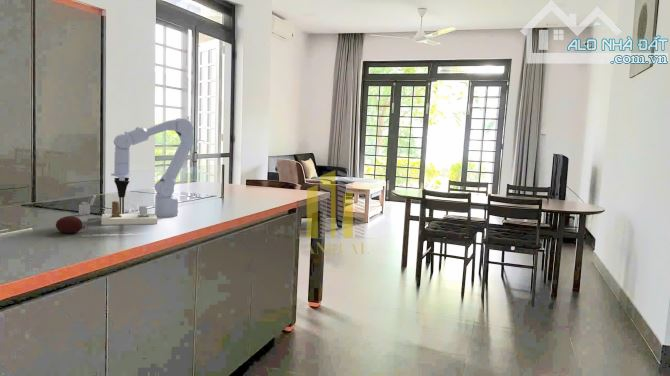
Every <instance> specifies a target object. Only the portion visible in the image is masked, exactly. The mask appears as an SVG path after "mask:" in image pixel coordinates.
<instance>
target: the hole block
mask: <svg viewBox="0 0 670 376" xmlns="http://www.w3.org/2000/svg"><path fill="white" fill-rule="evenodd" d="M139 215H140V213H120V217H112V213H105V214H104V213H103V214H101V223H100V224H101V226H108V225H109V226H112V225H113V226H114V225H116V226H117V225H119V226H120V225H122V226H123V225H157V224H158V216H156V214H155V213H147V217H139Z"/></svg>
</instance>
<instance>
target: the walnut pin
mask: <svg viewBox="0 0 670 376" xmlns="http://www.w3.org/2000/svg"><path fill="white" fill-rule="evenodd" d="M120 205H121V202H120V201H118V200H117V201H116V200H115V201H112V202H111V214H112V217H120V214H121V213H120V212H121V206H120Z"/></svg>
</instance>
